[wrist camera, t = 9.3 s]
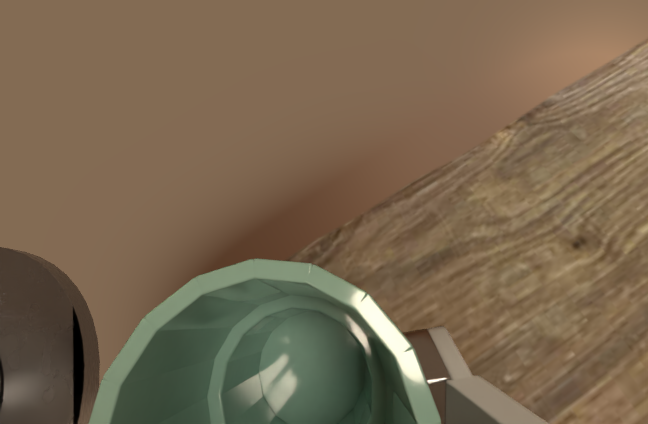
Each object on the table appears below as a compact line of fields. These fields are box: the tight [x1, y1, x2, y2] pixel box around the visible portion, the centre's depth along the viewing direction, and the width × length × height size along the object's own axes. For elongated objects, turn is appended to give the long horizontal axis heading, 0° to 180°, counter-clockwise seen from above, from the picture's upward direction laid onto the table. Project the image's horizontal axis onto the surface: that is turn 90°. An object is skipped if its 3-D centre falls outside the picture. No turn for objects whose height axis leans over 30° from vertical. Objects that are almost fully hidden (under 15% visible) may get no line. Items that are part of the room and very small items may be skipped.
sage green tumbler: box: [88, 258, 441, 424], centre depth 9 cm, size 6×6×9 cm
